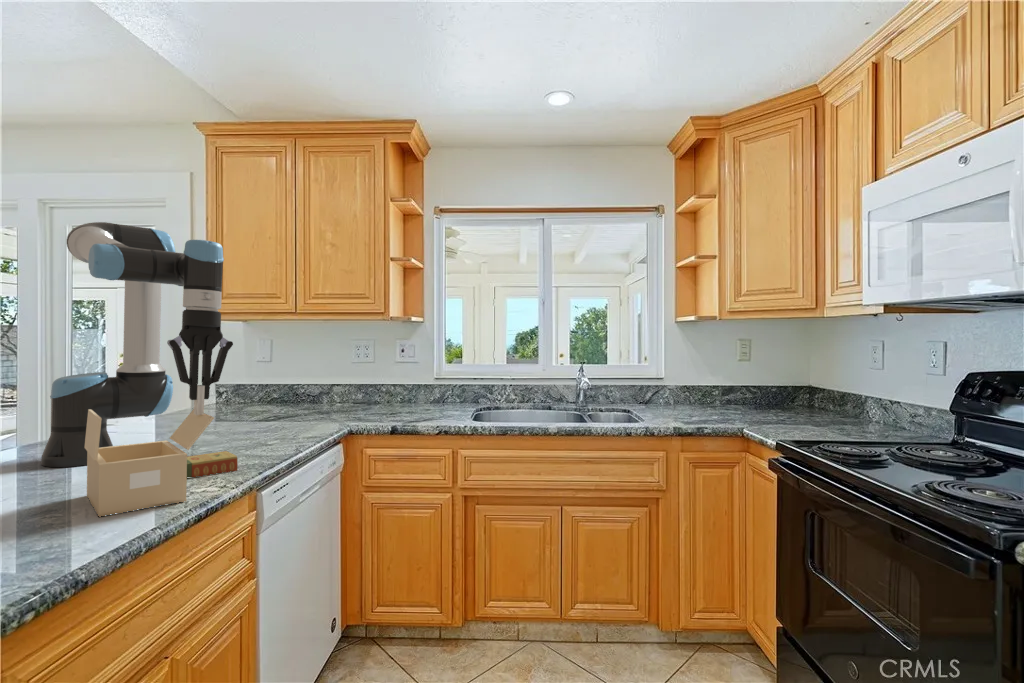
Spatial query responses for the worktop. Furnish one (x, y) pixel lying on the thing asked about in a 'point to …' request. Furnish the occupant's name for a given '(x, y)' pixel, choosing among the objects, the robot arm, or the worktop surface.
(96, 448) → the near flap
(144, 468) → the cardboard box
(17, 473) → the worktop surface
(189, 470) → the carton
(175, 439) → the far flap
